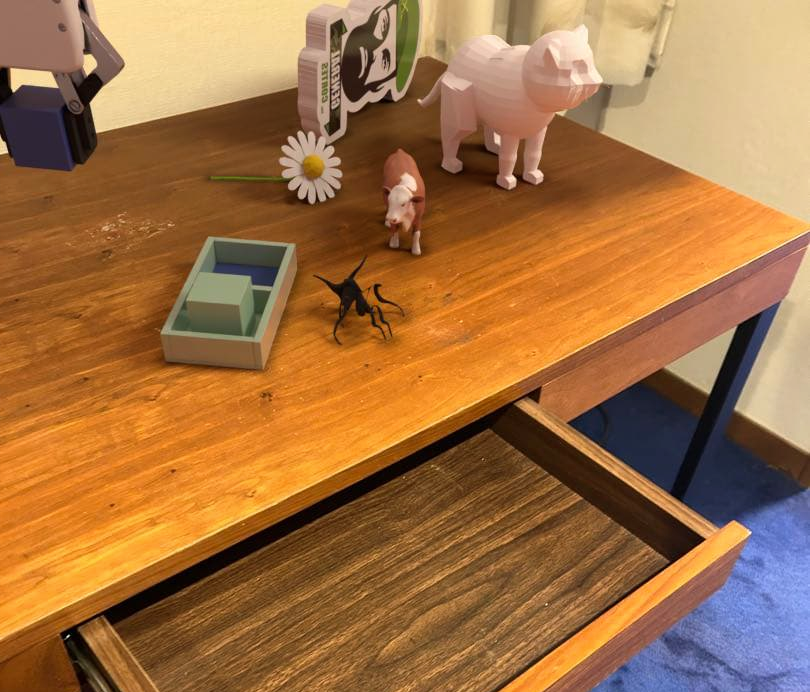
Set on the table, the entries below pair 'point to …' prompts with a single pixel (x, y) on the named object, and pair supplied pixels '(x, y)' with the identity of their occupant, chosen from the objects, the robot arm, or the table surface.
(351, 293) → the creature
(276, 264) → the sorting tray
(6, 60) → the robot arm
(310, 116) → the cutout
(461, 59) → the cat figurine
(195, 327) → the celadon block
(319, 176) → the decorative flower
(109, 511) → the table surface
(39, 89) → the indigo block
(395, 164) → the bull figurine
